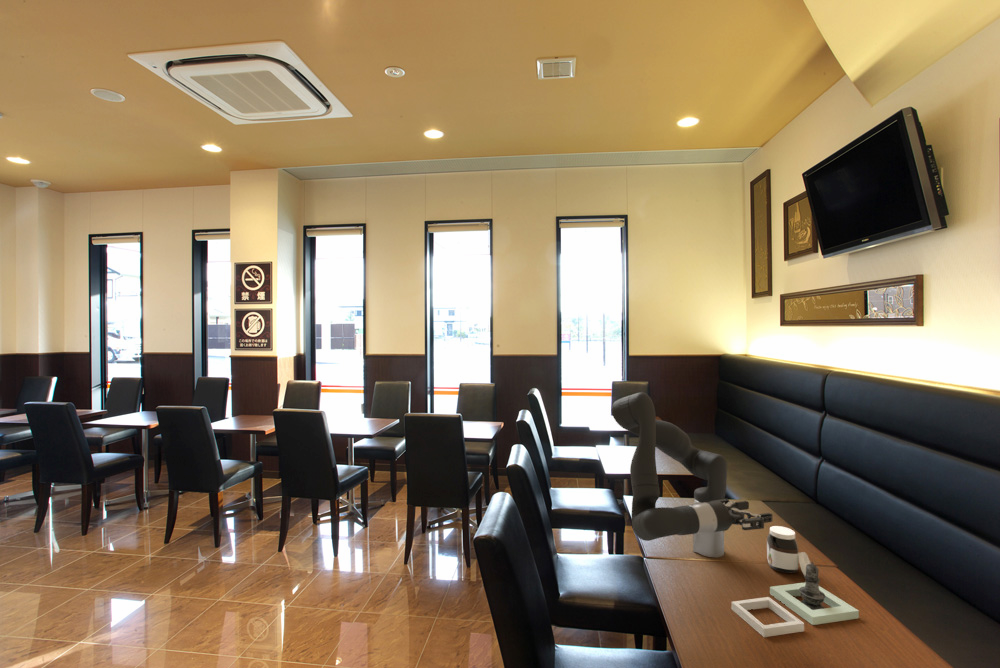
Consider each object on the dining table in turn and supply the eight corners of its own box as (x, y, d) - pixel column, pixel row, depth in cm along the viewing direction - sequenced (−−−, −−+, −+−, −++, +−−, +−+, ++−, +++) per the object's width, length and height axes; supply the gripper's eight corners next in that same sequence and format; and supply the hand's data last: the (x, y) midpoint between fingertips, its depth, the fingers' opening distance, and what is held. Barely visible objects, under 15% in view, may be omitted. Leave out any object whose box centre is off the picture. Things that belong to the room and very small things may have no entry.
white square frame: (763, 637, 111) (763, 629, 111) (731, 609, 122) (731, 601, 122) (804, 631, 113) (804, 623, 113) (768, 604, 124) (768, 596, 124)
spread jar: (763, 558, 150) (764, 522, 150) (803, 562, 147) (803, 526, 147) (775, 577, 138) (775, 538, 138) (818, 582, 135) (818, 543, 135)
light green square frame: (812, 625, 116) (812, 617, 116) (769, 593, 129) (769, 586, 129) (858, 618, 118) (858, 610, 118) (812, 588, 132) (812, 581, 132)
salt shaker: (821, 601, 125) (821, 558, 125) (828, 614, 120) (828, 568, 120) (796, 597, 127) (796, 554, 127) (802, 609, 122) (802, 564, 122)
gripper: (724, 514, 115) (779, 507, 118) (690, 493, 129) (740, 488, 132) (725, 543, 115) (780, 536, 119) (690, 520, 129) (740, 513, 132)
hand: (759, 510), depth 125 cm, fingers open, 8 cm apart
